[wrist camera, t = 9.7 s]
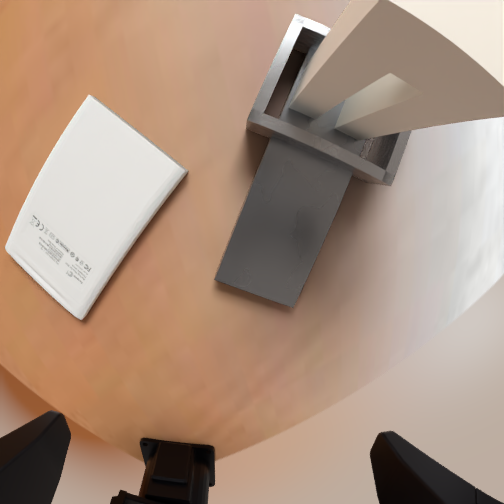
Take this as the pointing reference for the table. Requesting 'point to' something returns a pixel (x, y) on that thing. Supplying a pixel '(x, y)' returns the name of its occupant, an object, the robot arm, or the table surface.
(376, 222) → the table surface
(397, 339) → the table surface
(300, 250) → the grey tray with tab
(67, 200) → the external hard drive
